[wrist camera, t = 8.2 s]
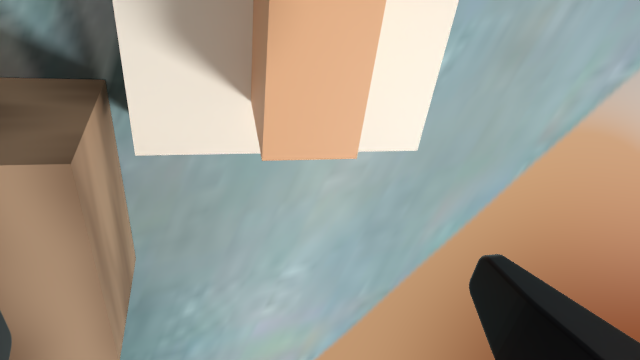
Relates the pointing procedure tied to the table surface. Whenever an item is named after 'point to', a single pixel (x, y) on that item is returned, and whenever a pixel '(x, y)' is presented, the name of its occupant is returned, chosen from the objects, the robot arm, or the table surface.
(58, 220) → the walnut box
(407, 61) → the lid
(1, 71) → the table surface
